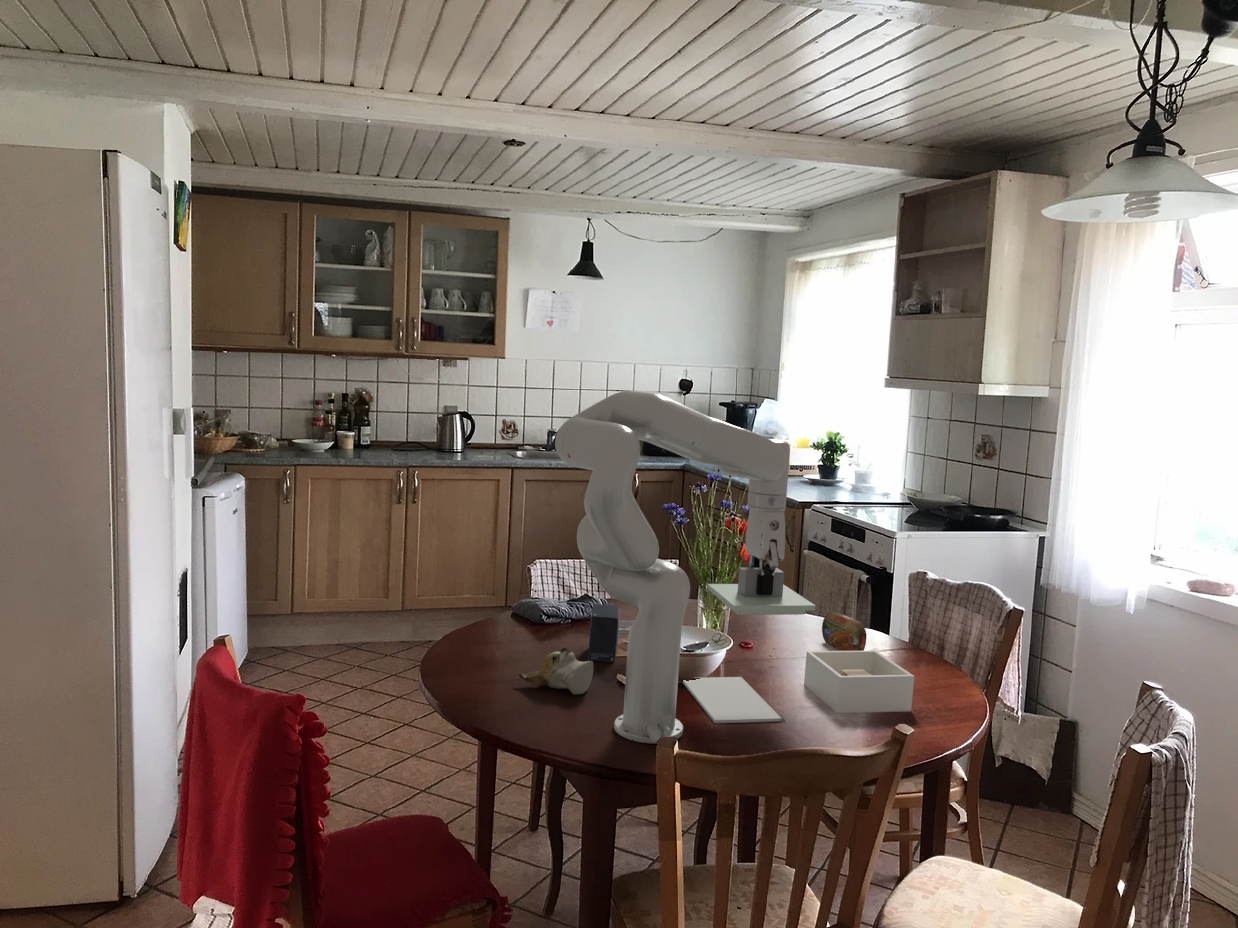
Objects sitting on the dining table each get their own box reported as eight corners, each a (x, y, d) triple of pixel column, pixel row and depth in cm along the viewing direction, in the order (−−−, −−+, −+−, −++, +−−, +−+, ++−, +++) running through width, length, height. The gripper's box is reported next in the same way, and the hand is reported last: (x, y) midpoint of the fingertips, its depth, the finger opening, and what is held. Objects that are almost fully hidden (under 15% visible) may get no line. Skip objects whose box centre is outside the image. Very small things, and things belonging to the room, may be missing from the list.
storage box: (910, 714, 186) (914, 676, 185) (836, 716, 183) (839, 677, 182) (872, 686, 202) (875, 650, 201) (803, 687, 198) (806, 651, 197)
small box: (616, 663, 207) (619, 617, 206) (587, 661, 207) (589, 615, 206) (617, 648, 217) (620, 604, 216) (589, 647, 217) (592, 603, 216)
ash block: (872, 701, 190) (874, 677, 190) (850, 702, 189) (852, 678, 189) (861, 692, 195) (863, 669, 195) (839, 693, 194) (841, 669, 193)
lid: (814, 616, 181) (817, 580, 180) (733, 617, 177) (735, 580, 177) (782, 594, 197) (784, 560, 196) (707, 594, 194) (709, 560, 193)
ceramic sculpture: (577, 660, 180) (516, 647, 188) (576, 703, 181) (516, 690, 189) (607, 647, 189) (548, 636, 197) (606, 689, 190) (547, 677, 198)
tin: (819, 641, 233) (822, 608, 232) (830, 640, 235) (833, 607, 234) (855, 660, 220) (859, 625, 219) (866, 659, 221) (870, 625, 220)
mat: (827, 720, 181) (828, 717, 181) (714, 723, 176) (714, 720, 176) (782, 679, 203) (782, 676, 203) (681, 680, 198) (681, 678, 198)
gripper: (801, 509, 178) (793, 602, 180) (769, 495, 194) (762, 581, 196) (764, 508, 176) (756, 603, 178) (734, 494, 192) (728, 581, 194)
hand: (759, 590), depth 187 cm, fingers closed on lid, 4 cm apart
